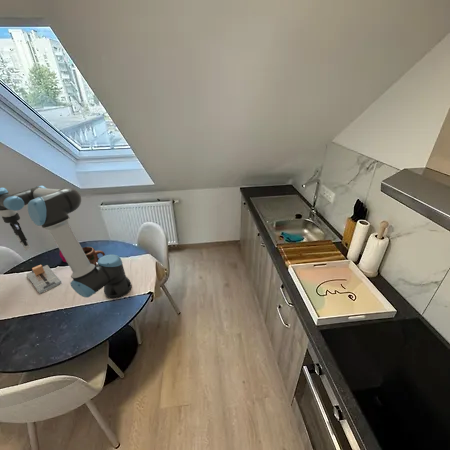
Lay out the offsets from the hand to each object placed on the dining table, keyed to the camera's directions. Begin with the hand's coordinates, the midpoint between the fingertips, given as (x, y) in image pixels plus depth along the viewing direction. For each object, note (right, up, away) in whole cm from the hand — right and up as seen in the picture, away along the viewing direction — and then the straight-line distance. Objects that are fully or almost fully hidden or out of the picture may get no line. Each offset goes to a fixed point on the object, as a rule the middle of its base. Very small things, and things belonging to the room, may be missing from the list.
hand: (25, 246), depth 155 cm
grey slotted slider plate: (+10, -21, +2) cm, 23 cm away
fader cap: (+6, -17, +5) cm, 19 cm away
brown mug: (+35, -15, +12) cm, 40 cm away
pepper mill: (+14, -11, +20) cm, 27 cm away
